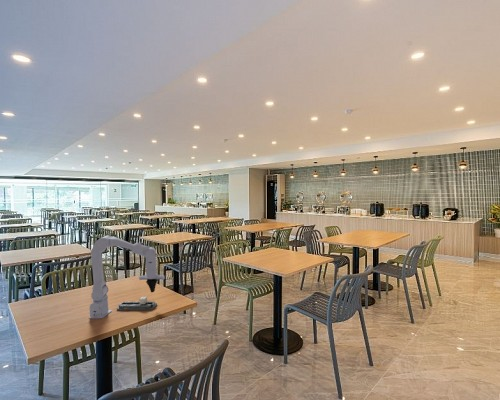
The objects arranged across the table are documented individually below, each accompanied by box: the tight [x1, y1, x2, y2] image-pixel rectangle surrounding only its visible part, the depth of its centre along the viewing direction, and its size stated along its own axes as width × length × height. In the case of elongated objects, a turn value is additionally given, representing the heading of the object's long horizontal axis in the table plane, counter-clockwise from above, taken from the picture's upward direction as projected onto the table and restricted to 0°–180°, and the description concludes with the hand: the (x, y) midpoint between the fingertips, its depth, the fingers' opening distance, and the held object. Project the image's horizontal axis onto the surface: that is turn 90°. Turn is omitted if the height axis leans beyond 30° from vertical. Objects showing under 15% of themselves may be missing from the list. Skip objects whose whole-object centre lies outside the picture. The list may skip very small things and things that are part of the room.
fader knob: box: [139, 296, 148, 304], centre depth 164 cm, size 4×3×5 cm
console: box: [116, 300, 158, 312], centre depth 165 cm, size 8×21×3 cm, turn 85°
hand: (152, 291), depth 164 cm, fingers closed
